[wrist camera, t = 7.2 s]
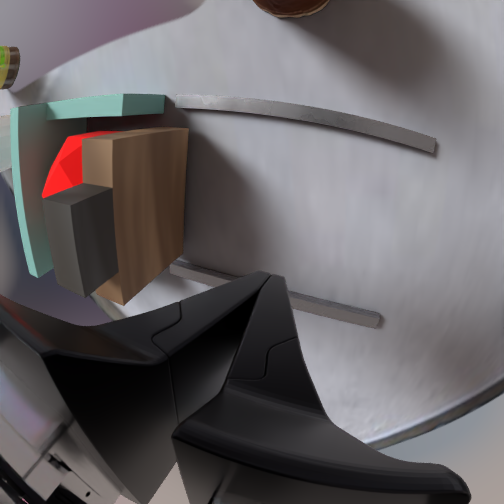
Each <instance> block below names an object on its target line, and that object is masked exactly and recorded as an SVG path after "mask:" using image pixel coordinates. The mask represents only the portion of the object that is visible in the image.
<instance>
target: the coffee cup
mask: <svg viewBox="0 0 504 504" xmlns="http://www.w3.org/2000/svg"><path fill="white" fill-rule="evenodd" d="M253 1H254V2H255V4H256V5H257V6H258V7H259V8H260V9H262V10H264V11H267V12H269V13H270V14H272V15H274V16H276V17H295V18H299V17H301V16H304V15H305V16H309V15H312V14H313V13H316V12H318V11H320V10H321V9H323V8H324V7H325V6H326V5H327V3H328V2H329V0H253Z"/></svg>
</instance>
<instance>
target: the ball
mask: <svg viewBox="0 0 504 504" xmlns="http://www.w3.org/2000/svg"><path fill="white" fill-rule="evenodd" d="M118 132H124V131H95V132H90V133H84V134H79V135H74V136H69V137H67V139H66V141H65V143H64V144H63V146H62V148H61V150H60V151H59V153H58V155H57V157H56V159H55V161H54V163H53V165H52V166H51V168H50V171H49V174H48V177H47V180H46V183H45V186H44V190H43V193H42V197H43V198H45V197H48V196H50V195H53V194H55V193H58V192H60V191H63V190H65V189H68V188H71V187H73V186H76V185H79V184H81V183H83V174H82V139H84V138H89V137H95V136H100V135H106V134H112V133H118Z"/></svg>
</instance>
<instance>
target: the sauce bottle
mask: <svg viewBox="0 0 504 504" xmlns="http://www.w3.org/2000/svg"><path fill="white" fill-rule="evenodd" d="M19 65H20V53H19V49H18V48H17V47H7V46H0V89H8V88H10V87H11V86H12V85H13V83H14V81H15V79H16V77H17V74H18V70H19Z"/></svg>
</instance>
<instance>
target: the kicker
mask: <svg viewBox="0 0 504 504" xmlns="http://www.w3.org/2000/svg"><path fill="white" fill-rule="evenodd" d="M188 134H189V128H175V127H154V128H146V129H138V130H131V131H124V132H118V133H112V134H106V135H100V136H95V137H89V138H84V139H82V174H83V183H81V184H79V185H76V186H73V187H71V188H68V189H65V190H63V191H60V192H58V193H55V194H53V195H50V196H48V197H45V198H43V199H42V200H43V208H44V216H45V223H46V229H47V235H48V241H49V247H50V252H51V257H52V262H53V266H54V270H55V275H56V279H57V283H58V285H60V286H62V287H64V288H66V289H68V290H70V291H72V292H74V293H76V294H78V295H80V296H82V297H84V298H86V297H87V296H88V295H90V294H91V293H92V292H94V291H95V290H96V293H97V295H100V296H102V297H104V298H106V299H109V300H111V301H113V302H116V303H118V304H120V305H123V306H124V305H125V304H126V303H127V302H129V301H130V300H131V299H132V298H133V297H134V296H135V295H136V294H137V293H139V292H140V291H141V290H142V289H143V288H144V287H145V286H146V285H147V284H149V283H150V282H151V281H152V280H153V279H154V278H155V277H156V276H158V275H159V274H160V273H161V272H162V271H163V270H164V269H166V268H167V267H168V266H169V265H170V264H171V263H172V262H174V261H175V260H176V259H177V258H178V257H179V256H180V255H182V254H183V230H184V200H185V179H186V162H187V147H188Z"/></svg>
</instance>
